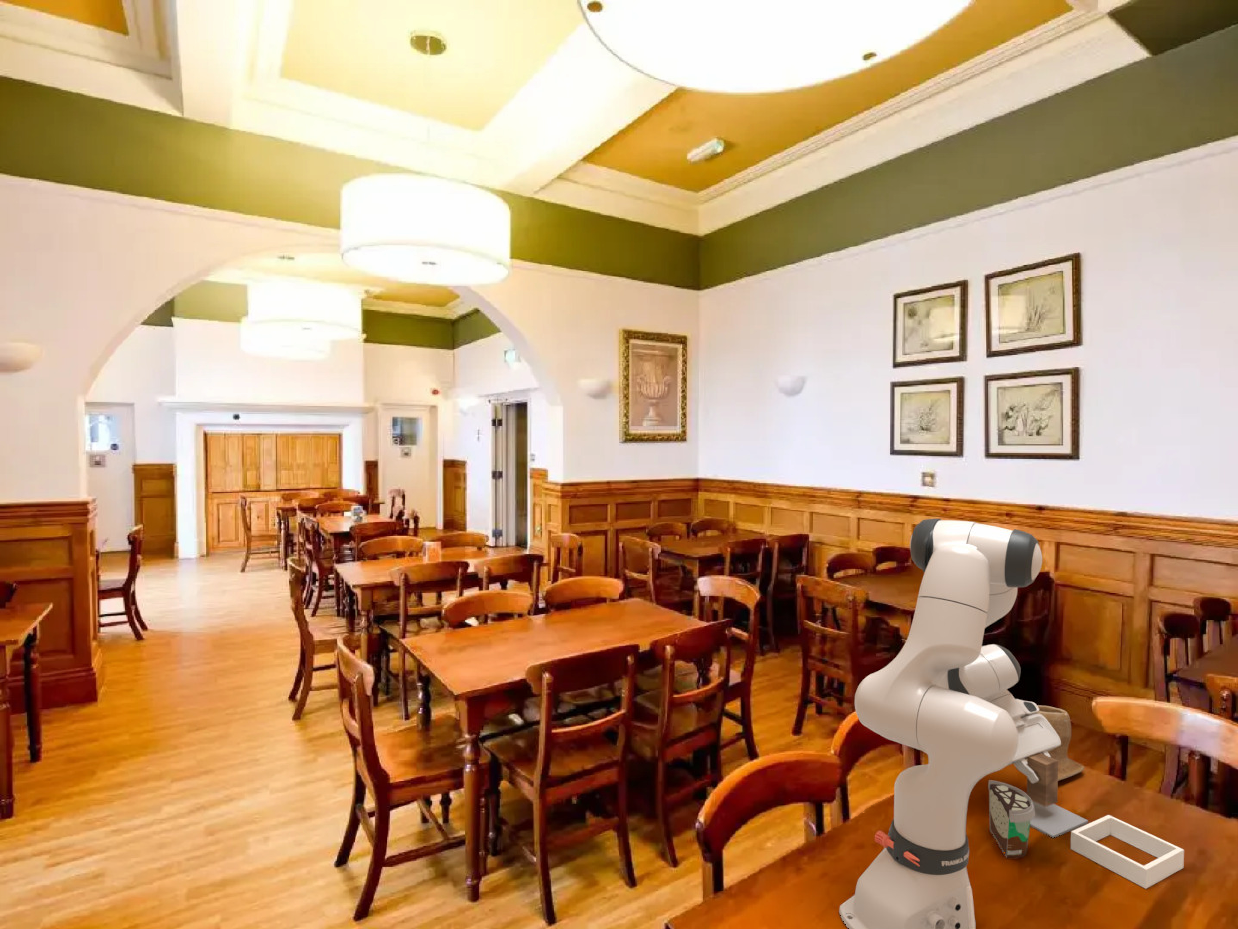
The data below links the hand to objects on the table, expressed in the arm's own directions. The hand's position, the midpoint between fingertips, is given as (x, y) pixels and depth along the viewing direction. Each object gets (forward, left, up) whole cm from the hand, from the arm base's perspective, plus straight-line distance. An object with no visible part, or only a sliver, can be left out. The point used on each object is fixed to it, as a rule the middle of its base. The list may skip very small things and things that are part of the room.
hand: (1045, 779), depth 141 cm
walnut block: (0, +1, -5) cm, 5 cm away
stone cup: (+20, +12, -9) cm, 25 cm away
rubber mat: (0, +1, -8) cm, 8 cm away
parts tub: (0, -15, -8) cm, 17 cm away
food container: (-15, -3, -8) cm, 18 cm away
